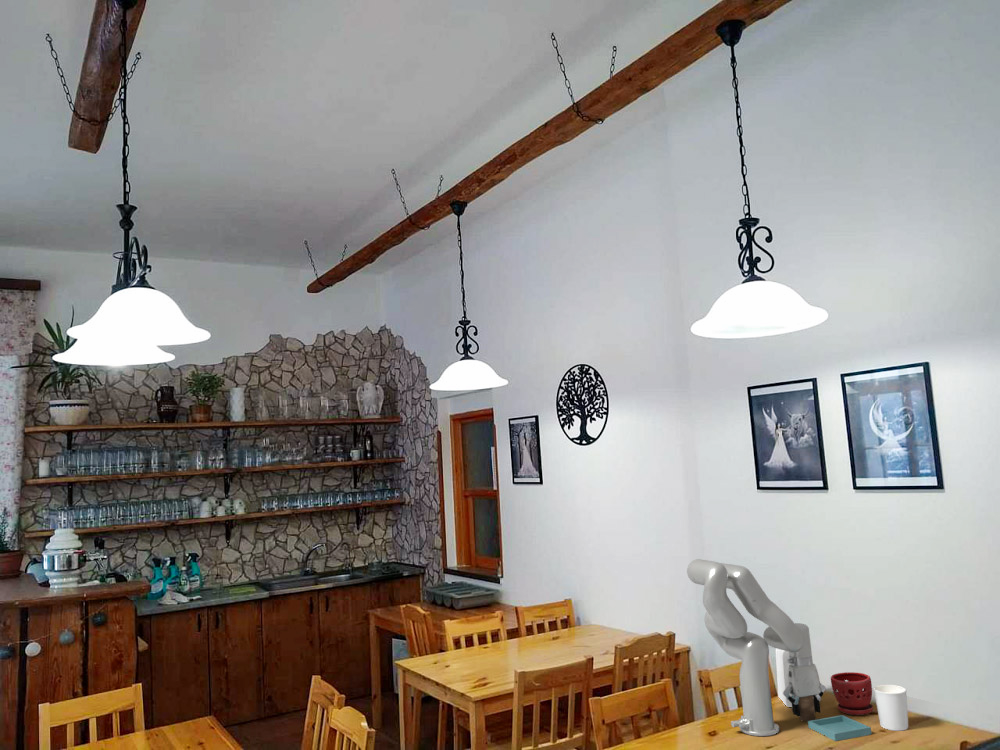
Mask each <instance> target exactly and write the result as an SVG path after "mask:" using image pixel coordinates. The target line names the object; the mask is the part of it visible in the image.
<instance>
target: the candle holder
mask: <svg viewBox="0 0 1000 750" xmlns="http://www.w3.org/2000/svg"><path fill="white" fill-rule="evenodd" d="M872 690H873V692H874V698H875V704H876V709H877V714H878V720H879V724H880V728H882V727H883V728H882V729H884V728H885V730H887V729H888V731H893V732H895V731H896V732H901V731H906V730H908V728H909V712H908V699H907V689H906V687H904V686H900V685H895V684H879V685H875V686H874V687H872Z"/></svg>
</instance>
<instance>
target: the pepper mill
mask: <svg viewBox="0 0 1000 750" xmlns="http://www.w3.org/2000/svg"><path fill="white" fill-rule="evenodd" d="M798 704H799V707H800V716H799V717H798V718H799V720H800V721H801V720H802V721H801V722H804V721H806V722H805V723H808V721H812V720H817V718H816V712H815V709H814V700H813V696H807V697H799V700H798Z"/></svg>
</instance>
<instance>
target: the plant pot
mask: <svg viewBox="0 0 1000 750" xmlns="http://www.w3.org/2000/svg"><path fill="white" fill-rule="evenodd" d="M830 685H831V689H832V692H833V694H834V695H833V696H834V698H835V700H836V701H837V703H838V704H837V708H838V710H839V711H840V712H842V713H844V714H845V715H849V716H852V715H853V716H864V715H868V714H870V713H872V711H873V710H874V705H873V704H871V702H872V699H873V685H872V679H871V676H870V675H869V674H866V673H863V672H862V673H861V672H854V671H853V672H848V671H847V672H838V673H834V674H832V675H831V676H830Z"/></svg>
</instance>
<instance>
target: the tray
mask: <svg viewBox="0 0 1000 750" xmlns="http://www.w3.org/2000/svg"><path fill="white" fill-rule="evenodd" d="M807 725H808V729H810V728H811V729H810V730H812V729H813V730H812V731H814V730H815V731H814V732H816V731H817V732H816V733H818V732H819V733H818V734H820V733H821V734H820V735H822V734H823V735H822V736H824V735H825V736H824V737H826V736H827V737H826V738H828V739H830V740H832V741H834V742H838V741H843V740H850V739H854V738H860V737H865V736H870V735H871V734H872V727H871V726H868V725H866V724H864V723H861V722H859V721H857V720H854V719H853V718H850V717H848V716H846V715H843V714H842V715H841V714H840V715H836V716H830V717H824V718H820V719H817V718H816V720H812V721H808V722H807ZM871 736H872V735H871Z"/></svg>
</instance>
